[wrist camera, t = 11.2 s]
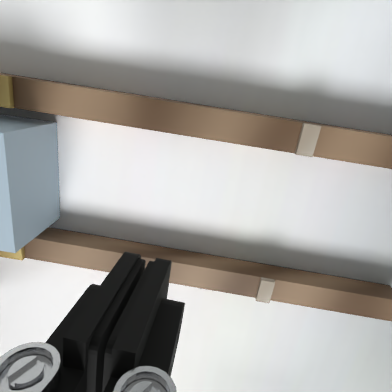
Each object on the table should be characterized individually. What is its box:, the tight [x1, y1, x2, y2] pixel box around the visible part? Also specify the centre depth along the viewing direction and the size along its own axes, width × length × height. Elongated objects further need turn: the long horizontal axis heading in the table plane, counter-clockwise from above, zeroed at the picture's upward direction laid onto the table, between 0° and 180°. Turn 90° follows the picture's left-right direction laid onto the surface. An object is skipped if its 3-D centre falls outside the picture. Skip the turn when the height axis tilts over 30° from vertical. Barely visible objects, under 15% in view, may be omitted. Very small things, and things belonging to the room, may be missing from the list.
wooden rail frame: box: [0, 73, 392, 321], centre depth 16 cm, size 30×10×2 cm, turn 82°
